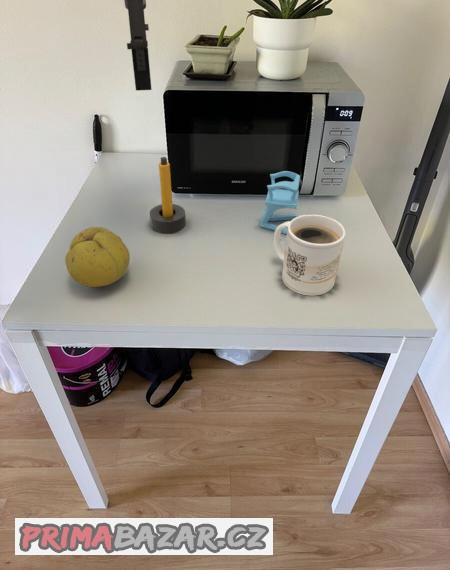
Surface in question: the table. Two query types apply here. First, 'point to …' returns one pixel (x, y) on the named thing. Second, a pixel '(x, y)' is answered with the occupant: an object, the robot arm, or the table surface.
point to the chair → (280, 199)
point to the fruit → (97, 257)
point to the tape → (167, 220)
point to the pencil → (165, 187)
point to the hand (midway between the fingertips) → (142, 79)
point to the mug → (310, 253)
